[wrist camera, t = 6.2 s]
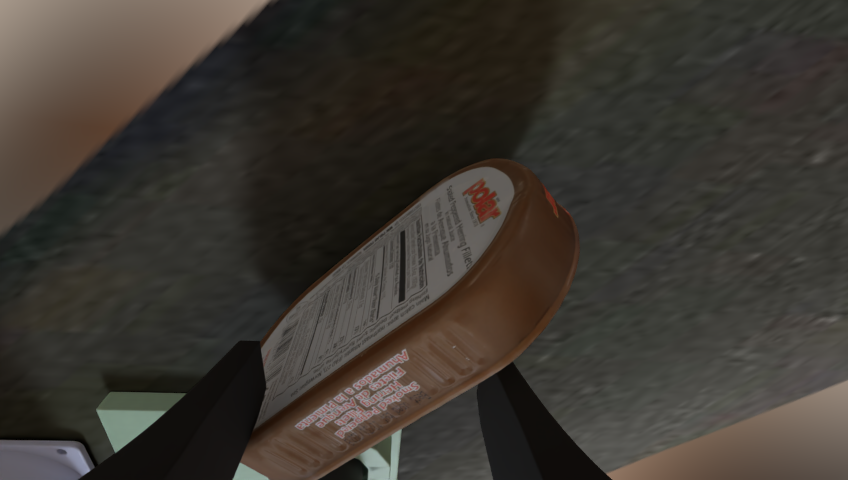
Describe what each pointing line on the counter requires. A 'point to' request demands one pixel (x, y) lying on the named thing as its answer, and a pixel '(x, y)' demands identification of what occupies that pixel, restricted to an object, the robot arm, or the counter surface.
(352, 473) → the button
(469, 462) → the counter surface
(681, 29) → the counter surface
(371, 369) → the tin
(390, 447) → the pale green flat piece
